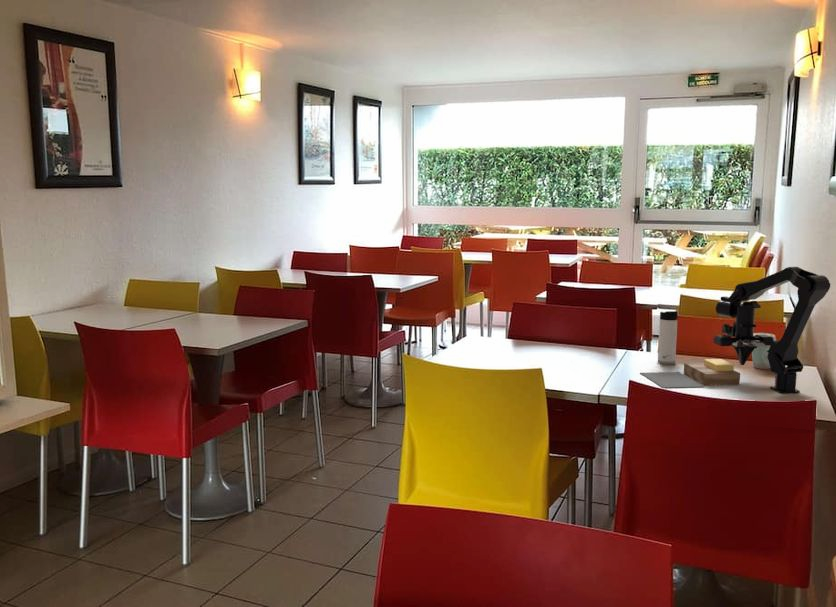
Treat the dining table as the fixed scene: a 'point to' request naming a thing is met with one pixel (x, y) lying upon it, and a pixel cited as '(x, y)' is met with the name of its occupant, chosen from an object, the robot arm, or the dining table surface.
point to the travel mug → (667, 337)
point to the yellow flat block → (718, 365)
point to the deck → (710, 375)
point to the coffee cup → (761, 354)
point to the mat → (671, 380)
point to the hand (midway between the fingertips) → (742, 364)
